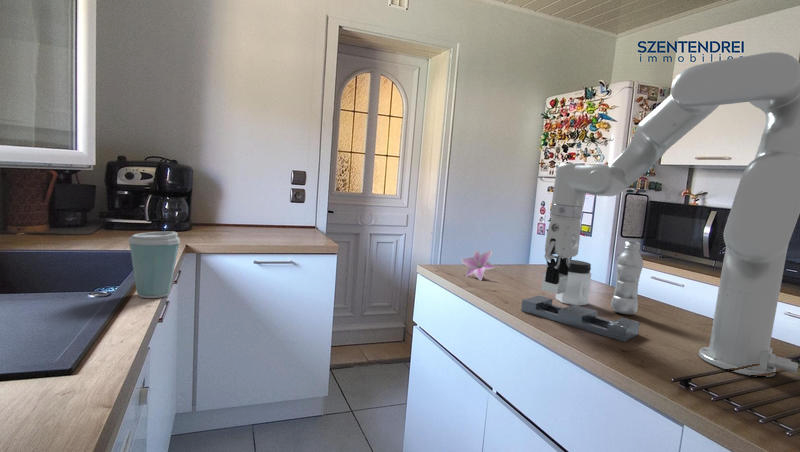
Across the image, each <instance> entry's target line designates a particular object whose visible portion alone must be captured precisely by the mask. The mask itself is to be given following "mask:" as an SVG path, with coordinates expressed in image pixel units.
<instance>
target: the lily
mask: <svg viewBox="0 0 800 452" xmlns="http://www.w3.org/2000/svg"><path fill="white" fill-rule="evenodd" d="M493 251H494V250H493V249H490V250H487V251H485V252H482V253H480V252H479V250H478V249H475V250H474V253H473V257H466V258H462V259H460V262H461V263H462V264H463V265H465V266H466V267H467V268H468V269H467V271H466V273H465V275H466V276H465V277H469V276H471V275H473V274H474V275H475V276H476V278H477V279H478V280H479V281H482V280H483V277H484V274H485V271H486V270H492V269H495V268H496V266H495V265H494V264H492V263H491V262H489V260H490V258H491V256H492V255H493Z"/></svg>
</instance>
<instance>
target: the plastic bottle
mask: <svg viewBox="0 0 800 452" xmlns="http://www.w3.org/2000/svg"><path fill="white" fill-rule="evenodd" d="M623 248H624V250H623V251H622V252H621V253H620V254H619V255H618V256H617V258H616V282H615V288H614V293H613V295H612V298H611V300H610V301H611V302H610V303H611V309H612V310H613V311H614V312H616V313H619V314H622V315H631V316H633V315H635V314H636V313H637V312H638V309H639V308H638V307H639V299H638V294H639V293H638V292H639V290H638V288H639V282H640V278H641V277H640V276H641V274H642V271H643V267H644V260H643V258H642V255H641V254H640V252H639V251H640V250H641V243H639V242H635V241H625V242H624V247H623Z"/></svg>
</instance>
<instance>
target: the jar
mask: <svg viewBox="0 0 800 452" xmlns="http://www.w3.org/2000/svg"><path fill="white" fill-rule="evenodd" d="M591 267H592V264H591V263H589V262H588V261H587V262H586V261H582V260H577V259H571V261H570V267H569V271H568V279H567V286H566V292H564V293H560V294H555V300H557V301H559V302H560V303H561V304H567V305H570V306H572V305H577V306H585V305H588V302H589V294H590V287H591V280H592V273H591V269H592V268H591Z"/></svg>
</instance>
